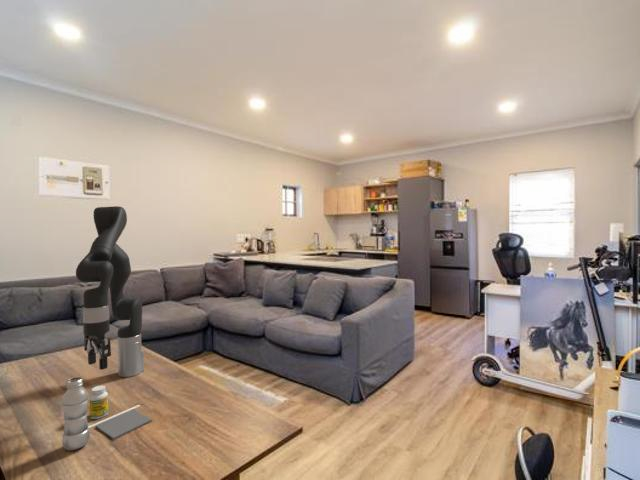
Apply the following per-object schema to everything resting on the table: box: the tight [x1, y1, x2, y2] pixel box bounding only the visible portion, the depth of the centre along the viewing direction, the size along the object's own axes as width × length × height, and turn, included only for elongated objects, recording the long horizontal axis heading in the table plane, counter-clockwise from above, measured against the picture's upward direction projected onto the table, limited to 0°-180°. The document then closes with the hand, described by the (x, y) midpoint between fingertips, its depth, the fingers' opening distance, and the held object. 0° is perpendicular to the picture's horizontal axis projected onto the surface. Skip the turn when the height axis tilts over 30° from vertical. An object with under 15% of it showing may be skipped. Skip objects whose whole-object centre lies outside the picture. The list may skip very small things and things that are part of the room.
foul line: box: [88, 404, 141, 430], centre depth 114 cm, size 20×1×1 cm, turn 146°
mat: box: [95, 409, 153, 441], centre depth 111 cm, size 12×12×1 cm
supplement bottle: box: [88, 385, 109, 420], centre depth 116 cm, size 5×5×10 cm
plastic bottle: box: [61, 376, 91, 451], centre depth 99 cm, size 6×7×20 cm
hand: (97, 366), depth 116 cm, fingers open, 8 cm apart
